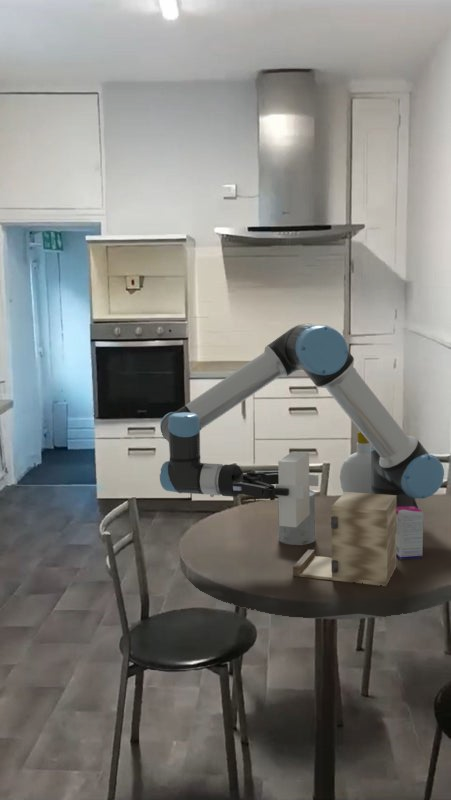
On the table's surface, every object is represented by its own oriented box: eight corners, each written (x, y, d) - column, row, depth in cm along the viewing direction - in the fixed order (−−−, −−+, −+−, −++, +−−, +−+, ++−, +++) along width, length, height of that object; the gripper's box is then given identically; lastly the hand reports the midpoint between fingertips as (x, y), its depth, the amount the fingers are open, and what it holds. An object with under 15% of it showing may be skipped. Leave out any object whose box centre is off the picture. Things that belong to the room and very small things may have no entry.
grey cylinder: (313, 545, 204) (313, 498, 202) (276, 544, 206) (275, 497, 204) (316, 534, 213) (316, 489, 212) (281, 533, 215) (280, 488, 214)
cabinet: (396, 566, 187) (396, 495, 185) (384, 588, 174) (385, 511, 172) (308, 557, 195) (307, 489, 193) (291, 577, 182) (290, 504, 179)
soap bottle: (390, 500, 245) (390, 415, 241) (385, 508, 237) (385, 420, 233) (343, 497, 250) (343, 414, 246) (337, 505, 241) (336, 419, 238)
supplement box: (423, 557, 193) (424, 511, 191) (400, 559, 192) (400, 513, 191) (414, 550, 199) (414, 505, 197) (391, 552, 198) (391, 506, 196)
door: (309, 514, 192) (309, 452, 190) (296, 527, 182) (295, 462, 180) (288, 512, 194) (287, 451, 192) (274, 525, 184) (273, 460, 182)
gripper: (240, 483, 204) (324, 489, 196) (203, 508, 183) (296, 515, 175) (239, 454, 203) (324, 459, 195) (202, 475, 182) (295, 481, 174)
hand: (311, 486), depth 185 cm, fingers closed on door, 11 cm apart
